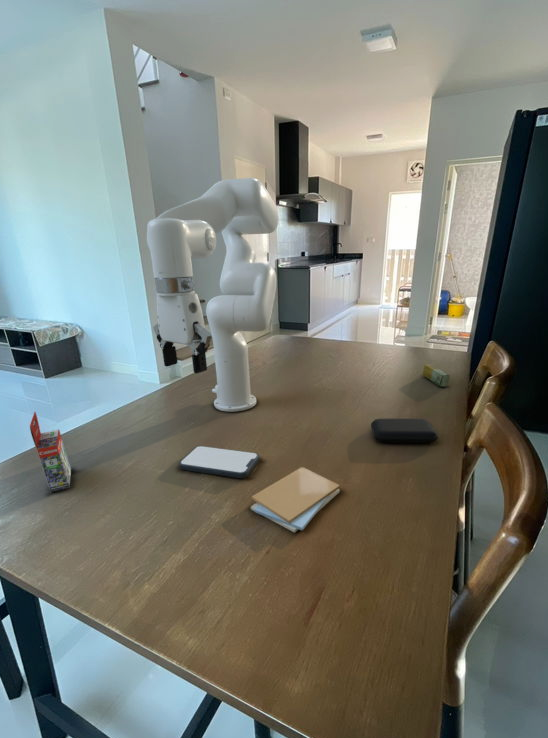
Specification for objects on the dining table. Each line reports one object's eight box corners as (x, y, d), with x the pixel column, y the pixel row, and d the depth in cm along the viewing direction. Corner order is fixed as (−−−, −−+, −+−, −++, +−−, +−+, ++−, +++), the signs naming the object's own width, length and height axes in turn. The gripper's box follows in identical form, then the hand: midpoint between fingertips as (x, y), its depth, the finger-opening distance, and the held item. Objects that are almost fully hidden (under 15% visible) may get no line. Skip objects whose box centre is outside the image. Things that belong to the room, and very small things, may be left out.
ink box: (71, 469, 83) (54, 407, 77) (70, 488, 76) (51, 422, 71) (52, 473, 82) (33, 411, 76) (49, 493, 75) (28, 426, 69)
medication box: (447, 387, 123) (450, 375, 121) (440, 387, 122) (443, 375, 121) (428, 374, 134) (431, 363, 132) (421, 374, 133) (423, 363, 132)
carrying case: (427, 425, 98) (368, 425, 99) (428, 414, 97) (369, 414, 98) (439, 445, 88) (375, 445, 89) (441, 433, 87) (375, 433, 88)
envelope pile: (245, 509, 69) (244, 501, 68) (296, 471, 79) (296, 464, 79) (297, 538, 62) (297, 529, 61) (346, 492, 72) (346, 484, 72)
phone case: (177, 470, 82) (245, 481, 77) (175, 464, 81) (244, 474, 76) (198, 450, 89) (261, 459, 84) (197, 444, 89) (261, 452, 84)
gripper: (218, 286, 75) (226, 370, 81) (163, 283, 84) (174, 358, 91) (188, 290, 69) (199, 379, 76) (133, 286, 79) (146, 366, 85)
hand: (185, 368), depth 83 cm, fingers open, 9 cm apart
